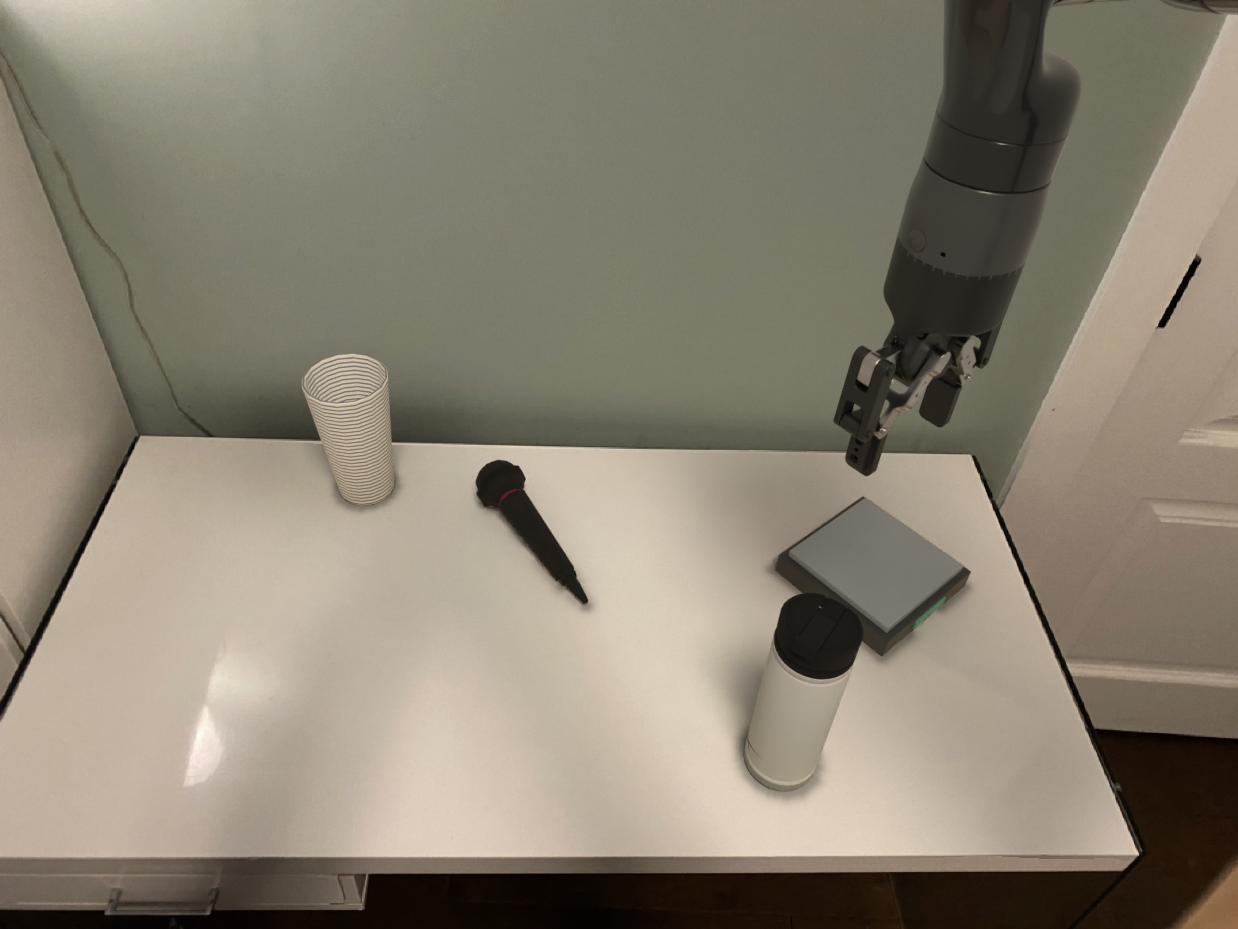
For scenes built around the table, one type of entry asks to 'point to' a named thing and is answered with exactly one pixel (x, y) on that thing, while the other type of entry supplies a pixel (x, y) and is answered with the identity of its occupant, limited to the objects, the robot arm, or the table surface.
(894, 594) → the scale
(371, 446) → the cup
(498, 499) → the microphone
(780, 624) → the travel mug
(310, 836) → the table surface
